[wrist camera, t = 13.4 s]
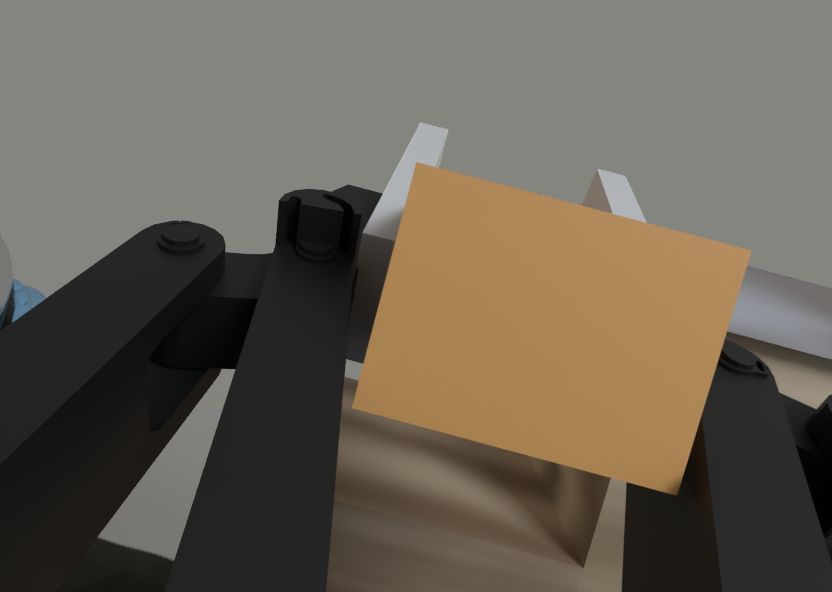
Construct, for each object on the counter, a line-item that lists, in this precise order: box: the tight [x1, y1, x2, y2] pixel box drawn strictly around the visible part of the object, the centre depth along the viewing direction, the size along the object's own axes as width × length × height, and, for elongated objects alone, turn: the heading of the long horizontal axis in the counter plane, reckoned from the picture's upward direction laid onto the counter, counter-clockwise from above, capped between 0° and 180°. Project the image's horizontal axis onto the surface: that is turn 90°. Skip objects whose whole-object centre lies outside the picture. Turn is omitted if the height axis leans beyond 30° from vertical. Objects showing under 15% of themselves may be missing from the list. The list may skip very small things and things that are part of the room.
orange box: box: [352, 162, 751, 496], centre depth 19 cm, size 26×4×3 cm, turn 178°
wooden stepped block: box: [326, 266, 832, 592], centre depth 26 cm, size 17×24×30 cm
